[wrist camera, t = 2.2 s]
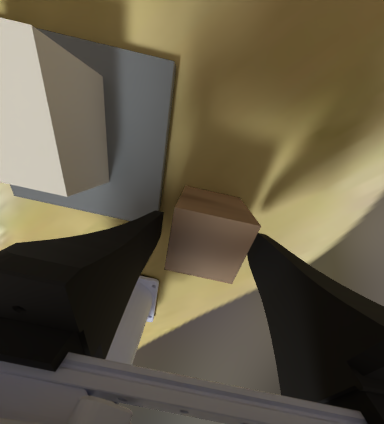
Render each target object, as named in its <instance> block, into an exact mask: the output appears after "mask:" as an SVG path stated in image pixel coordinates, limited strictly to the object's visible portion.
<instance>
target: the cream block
mask: <svg viewBox="0 0 384 424" xmlns="http://www.w3.org/2000/svg"><path fill="white" fill-rule="evenodd" d="M0 182H2V183H6V184H11V185H16V186H20V187H25V188H29V189H34V190H38V191H43V192H47V193H52V194H57V195H61V196H66V197H68V196H71V195H74V194H77V193H80V192H82V191H85V190H88V189H91V188H94V187H97V186H100V185H102V184H105V183H108V182H109V170H108V154H107V138H106V122H105V106H104V89H103V76H101V75H100V74H99V73H97V72H96V71H94V70H93V69H92V68H90V67H89V66H88V65H86V64H85V63H83V62H82V61H81V60H79V59H78V58H76V57H75V56H74V55H72V54H71V53H70V52H68V51H67V50H65V49H64V48H63V47H61V46H60V45H58V44H57V43H56V42H54V41H53V40H51V39H50V38H49V37H47V36H46V35H45V34H43V33H42V32H40V31H39V30H38V29H36V28H35V27H33V26H32V25H29V24H25V23H21V22H17V21H13V20H9V19H4V18H0Z"/></svg>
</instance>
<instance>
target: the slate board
mask: <svg viewBox="0 0 384 424" xmlns="http://www.w3.org/2000/svg"><path fill="white" fill-rule="evenodd" d="M36 29H38V28H36ZM38 30H39V31H40V32H42V33H43V34H45V35H46V36H47V37H49V38H50V39H51V40H53V41H54V42H56V43H57V44H58V45H60V46H61V47H63V48H64V49H65V50H67V51H68V52H70V53H71V54H72V55H74V56H75V57H76V58H78V59H79V60H81V61H82V62H83V63H85V64H86V65H88V66H89V67H90V68H92V69H93V70H94V71H96V72H97V73H99V74H100V75H101V76H103V89H104V106H105V122H106V138H107V154H108V170H109V182H108V183H105V184H102V185H100V186H97V187H94V188H91V189H88V190H85V191H82V192H80V193H77V194H74V195H71V196H68V197H66V196H61V195H57V194H52V193H47V192H43V191H38V190H34V189H29V188H25V187H20V186H16V185H11V184H10V186H11V188H12V191H13V194H14V196H18V197H22V198H27V199H31V200H36V201H40V202H45V203H50V204H54V205H59V206H63V207H68V208H73V209H77V210H82V211H86V212H91V213H96V214H100V215H105V216H109V217H114V218H118V219H123V220H128V221H133V220H135V219H138V218H140V217H142V216H144V215H146V214H148V213H151V212H153V211H155V210H157V211H160V204H161V195H162V186H163V178H164V169H165V160H166V151H167V142H168V133H169V125H170V116H171V107H172V98H173V89H174V81H175V72H176V65H175V62H174V61H171V60H167V59H163V58H158V57H154V56H150V55H146V54H142V53H138V52H134V51H129V50H125V49H121V48H117V47H113V46H109V45H105V44H100V43H96V42H92V41H88V40H84V39H80V38H75V37H71V36H67V35H63V34H59V33H55V32H51V31H46V30H42V29H38Z"/></svg>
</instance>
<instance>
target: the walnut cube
mask: <svg viewBox="0 0 384 424" xmlns="http://www.w3.org/2000/svg"><path fill="white" fill-rule="evenodd" d="M260 227H261V225H260V224H259V223H258V221H257V220H256V219H255V217H254V216H253V215H252V213H251V212H250V211H249V209H248V208H247V207H246V205H245V204H244V203H243V201H242V200H241V199H240V198H238V197H234V196H230V195H225V194H221V193H216V192H212V191H207V190H203V189H198V188H194V187H190V186H185V187H184V189H183V191H182V193H181V195H180V197H179V199H178V201H177V203H176V205H175V208H174V214H173V220H172V226H171V232H170V238H169V244H168V251H167V257H166V263H165V269H164V270H169V271H174V272H178V273H183V274H188V275H193V276H197V277H202V278H207V279H211V280H216V281H221V282H225V283H230V284H232V283H233V281H234V279H235V277H236V275H237V273H238V271H239V269H240V267H241V265H242V263H243V261H244V259H245V257H246V255H247V253H248V251H249V249H250V247H251V245H252V243H253V241H254V239H255V237H256V235H257V233H258V231H259V229H260Z"/></svg>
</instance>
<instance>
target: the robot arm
mask: <svg viewBox="0 0 384 424" xmlns="http://www.w3.org/2000/svg"><path fill="white" fill-rule="evenodd" d="M163 214H164V212H161V211H157V210H155V211H153V212H151V213H148V214H146V215H144V216H142V217H140V218H138V219H135V220H133V221H130V222H128V223H125V224H122V225H119V226H116V227H113V228H110V229H106V230H102V231H98V232H93V233H89V234H84V235H78V236H73V237H66V238H59V239H52V240H42V241H32V242H22V243H15V244H13V245H11V246H9V247H7V248H5V249H3V250H1V251H0V424H132V423H131V418H132V411H131V409H128V408H125V407H123V406H120V405H119V403H124V404H129V405H134V406H139V407H145V408H149V409H154V410H159V411H165V412H169V413H174V414H180V415H184V416H189V417H195V418H199V419H205V420H210V421H214V422H220V423H225V424H384V306H381V305H379V304H377V303H375V302H373V301H371V300H369V299H367V298H365V297H364V296H362V295H360V294H358V293H356V292H354V291H352V290H350V289H349V288H346V287H345V286H343V285H341V284H339V283H337V282H336V281H334V280H332V279H330V278H329V277H327V276H326V275H324V274H323V273H321V272H319V271H318V270H316V269H314V268H313V267H311V266H310V265H308V264H307V263H305V262H304V261H303V260H301V259H300V258H298V257H297V256H295V255H294V254H293V253H291V252H290V251H288V250H287V249H286V248H284V247H283V246H282V245H280V244H279V243H277V242H276V241H275V240H273V239H272V238H270V237H269V236H267V235H265V234H260V233H257V235H256V237H255V239H254V241H253V243H252V245H251V247H250V249H249V251H248V253H247V256H248V261H249V266H250V269H251V271H252V274H253V277H254V280H255V282H256V285H257V288H258V290H259V293H260V296H261V299H262V302H263V306H264V309H265V313H266V317H267V321H268V325H269V330H270V334H271V338H272V344H273V349H274V354H275V359H276V365H277V371H278V377H279V383H280V390H281V395H277V394H272V393H267V392H262V391H257V390H252V389H248V388H243V387H238V386H233V385H228V384H223V383H218V382H213V381H208V380H203V379H198V378H193V377H188V376H184V375H179V374H174V373H168V372H163V371H159V370H154V369H149V368H144V367H139V366H134V365H132V363H133V360H134V357H135V354H136V351H137V348H138V345H139V342H140V339H141V336H142V333H143V330H144V327H145V323H146V321H147V322H152V321H153V319H154V313H155V306H156V299H157V292H158V286H159V281H158V280H157V279H154V278H149V277H144V276H140V274H141V272H142V270H143V269H144V267H145V265H146V263H147V261H148V260H149V258H150V256H151V254H152V253H153V251H154V249H155V247H156V245H157V243H158V240H159V238H160V235H161V229H162V222H163Z"/></svg>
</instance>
